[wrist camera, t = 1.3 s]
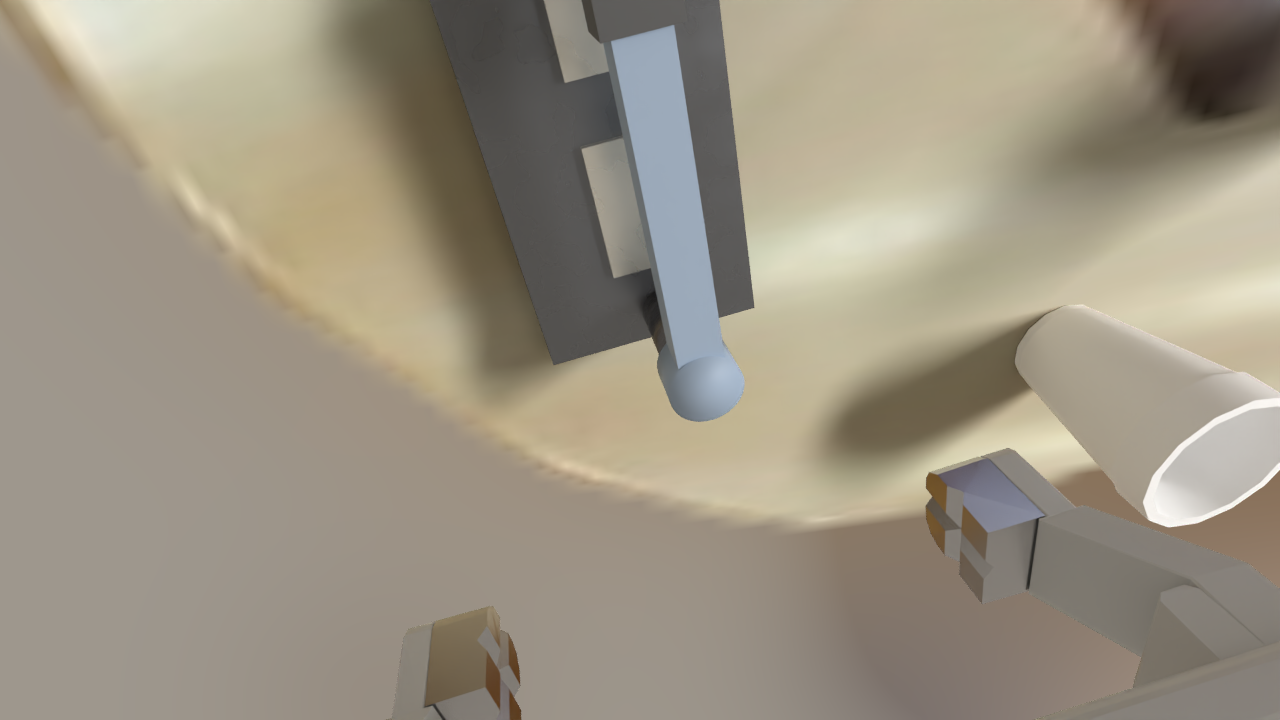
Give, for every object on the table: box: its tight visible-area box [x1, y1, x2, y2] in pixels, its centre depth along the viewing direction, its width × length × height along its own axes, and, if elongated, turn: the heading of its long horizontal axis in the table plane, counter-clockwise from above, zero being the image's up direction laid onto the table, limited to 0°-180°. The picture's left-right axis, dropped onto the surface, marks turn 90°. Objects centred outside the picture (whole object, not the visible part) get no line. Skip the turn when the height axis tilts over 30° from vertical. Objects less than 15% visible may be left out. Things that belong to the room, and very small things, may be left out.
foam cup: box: [1015, 304, 1280, 527], centre depth 42 cm, size 10×9×13 cm
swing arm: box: [582, 0, 744, 422], centre depth 27 cm, size 21×4×3 cm, turn 12°
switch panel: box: [430, 0, 754, 365], centre depth 30 cm, size 26×12×6 cm, turn 12°
